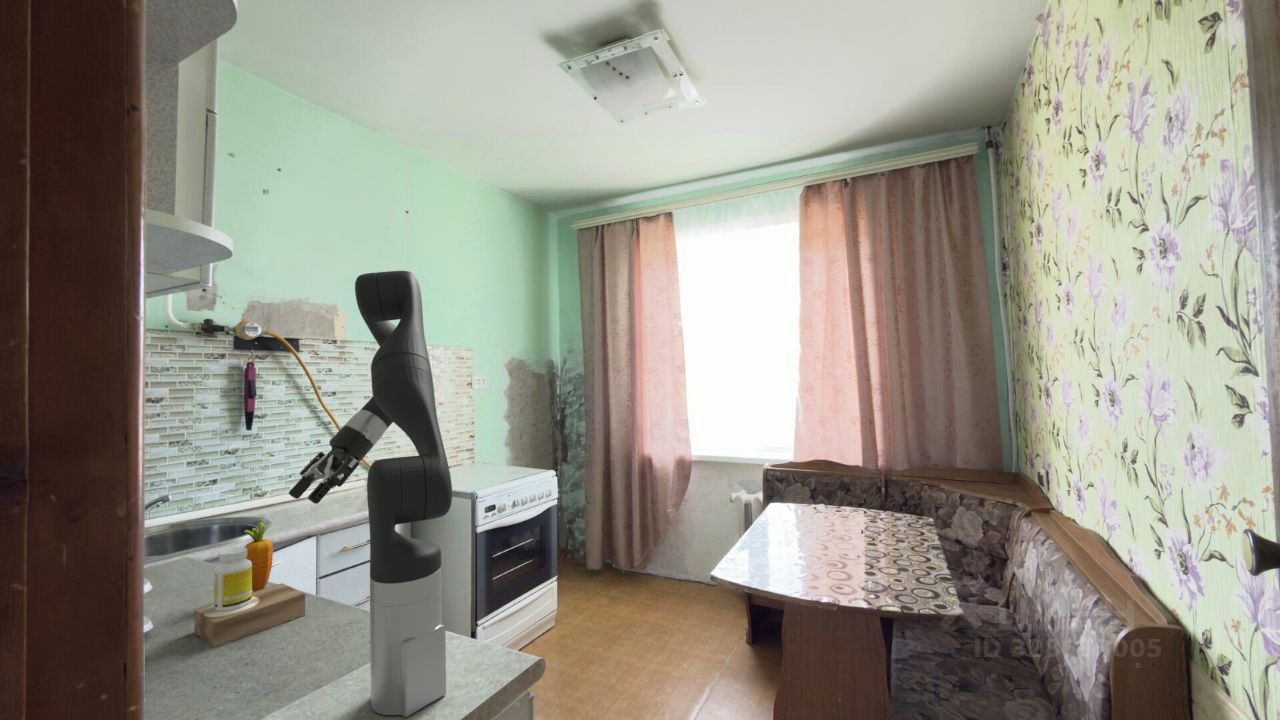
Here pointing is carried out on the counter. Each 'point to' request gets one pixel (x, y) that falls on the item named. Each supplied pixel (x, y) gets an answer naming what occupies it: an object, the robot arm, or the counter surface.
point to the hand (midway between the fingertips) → (302, 498)
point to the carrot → (259, 557)
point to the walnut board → (250, 615)
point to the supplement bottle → (233, 580)
